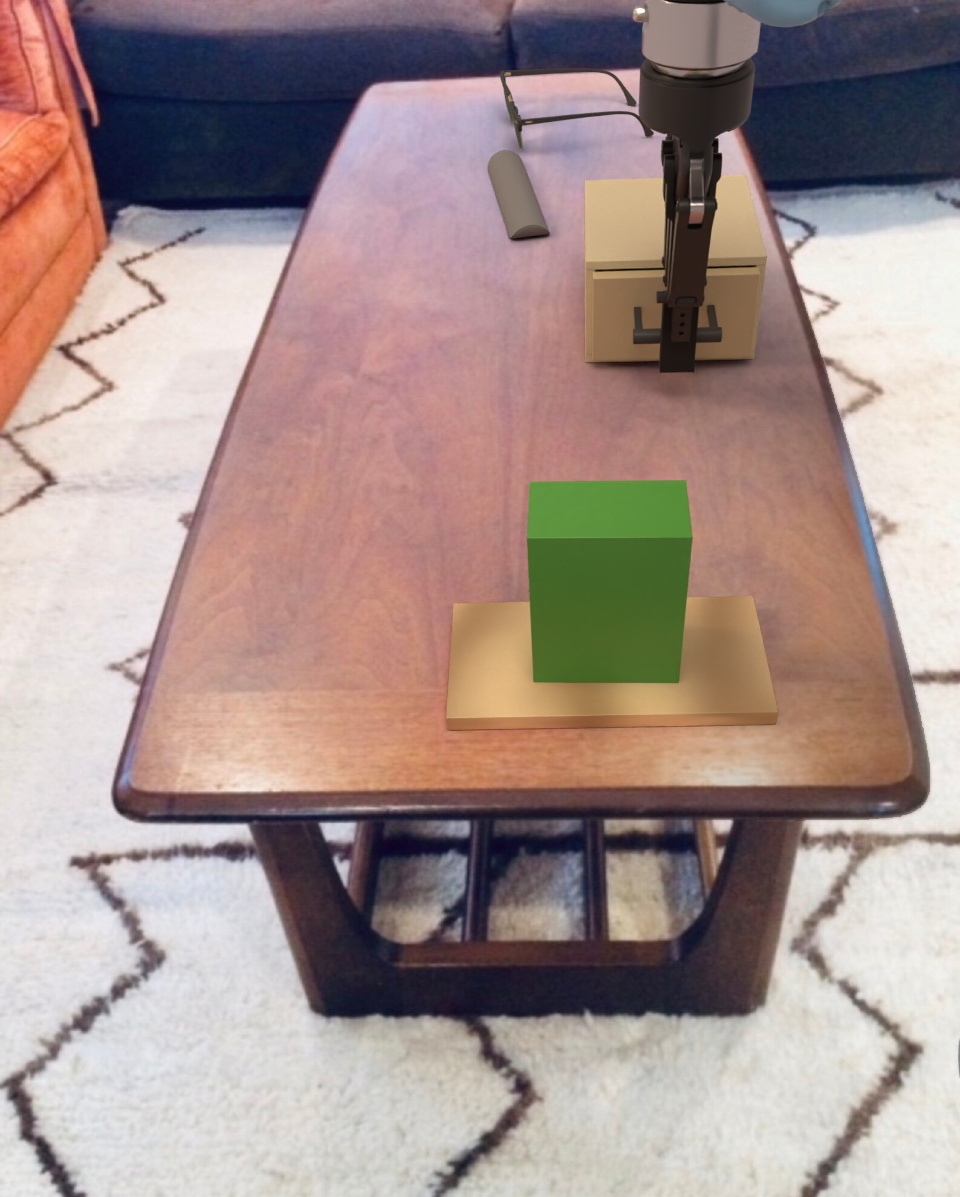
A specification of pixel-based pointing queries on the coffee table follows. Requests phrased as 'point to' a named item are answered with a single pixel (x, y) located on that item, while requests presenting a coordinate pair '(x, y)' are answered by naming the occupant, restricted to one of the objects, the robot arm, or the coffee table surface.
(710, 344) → the drawer
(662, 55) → the robot arm
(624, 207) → the cabinet
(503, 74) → the sunglasses
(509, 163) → the half round rod
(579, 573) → the tall green block
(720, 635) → the board
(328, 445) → the coffee table surface
